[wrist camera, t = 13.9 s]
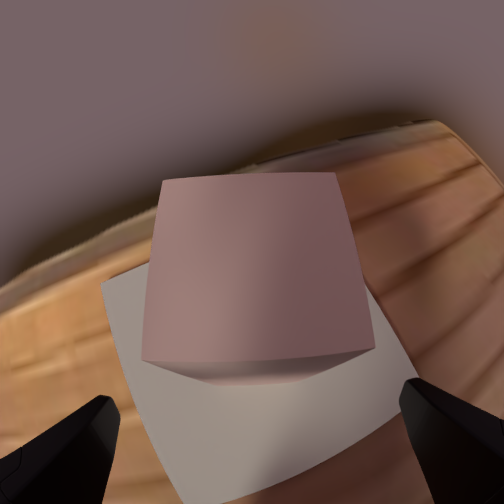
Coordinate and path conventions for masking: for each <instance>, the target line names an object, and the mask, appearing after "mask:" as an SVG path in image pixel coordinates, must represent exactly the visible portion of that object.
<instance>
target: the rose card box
mask: <svg viewBox="0 0 504 504" xmlns="http://www.w3.org/2000/svg"><path fill="white" fill-rule="evenodd" d="M374 348H376V345H375V338H374V332H373V326H372V320H371V314H370V309H369V304H368V298H367V293H366V289H365V284H364V279H363V274H362V270H361V265H360V261H359V257H358V253H357V249H356V245H355V241H354V237H353V233H352V229H351V225H350V222H349V218H348V214H347V211H346V207H345V204H344V200H343V197H342V194H341V190H340V187H339V184H338V181H337V177H336V174H335V172H287V173H254V174H233V175H218V176H204V177H191V178H181V179H170V180H163V183H162V188H161V193H160V198H159V203H158V209H157V215H156V220H155V227H154V233H153V239H152V246H151V253H150V261H149V269H148V277H147V286H146V296H145V307H144V319H143V333H142V352H141V360H142V361H145V362H147V363H150V364H152V365H155V366H158V367H160V368H163V369H166V370H169V371H172V372H175V373H177V374H180V375H183V376H186V377H190V378H193V379H196V380H199V381H202V382H206V383H209V384H212V385H216V386H242V385H264V384H279V383H291V382H298V381H301V380H304V379H306V378H309V377H311V376H314V375H316V374H319V373H321V372H324V371H326V370H328V369H331V368H333V367H335V366H338V365H340V364H342V363H345V362H347V361H349V360H351V359H353V358H355V357H358V356H360V355H362V354H364V353H366V352H368V351H370V350H372V349H374Z"/></svg>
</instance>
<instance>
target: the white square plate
mask: <svg viewBox="0 0 504 504" xmlns="http://www.w3.org/2000/svg"><path fill="white" fill-rule="evenodd" d="M148 269H149V262H148V263H146V264H144V265H141V266H139V267H137V268H134V269H132V270H130V271H127V272H125V273H123V274H121V275H118V276H116V277H114V278H112V279H109V280H107V281H105V282H103V283H100V285H101V290H102V294H103V299H104V304H105V308H106V312H107V316H108V320H109V324H110V328H111V332H112V336H113V339H114V343H115V346H116V350H117V353H118V356H119V359H120V363H121V366H122V369H123V372H124V375H125V378H126V381H127V384H128V386H129V389H130V392H131V395H132V397H133V400H134V403H135V405H136V408H137V410H138V413H139V415H140V418H141V420H142V423H143V425H144V427H145V430H146V432H147V434H148V436H149V439H150V441H151V443H152V445H153V447H154V449H155V452H156V454H157V456H158V458H159V460H160V462H161V464H162V466H163V468H164V470H165V471H166V473H167V475H168V477H169V479H170V481H171V483H172V484H173V486H174V488H175V490H176V491H177V493H178V495H179V497H180V498H181V500H182V502H183V503H184V504H221V503H225V502H228V501H231V500H234V499H237V498H240V497H243V496H246V495H249V494H252V493H255V492H257V491H260V490H263V489H265V488H268V487H270V486H273V485H275V484H277V483H280V482H282V481H284V480H287V479H289V478H291V477H293V476H296V475H298V474H300V473H302V472H304V471H306V470H308V469H310V468H312V467H314V466H316V465H318V464H320V463H322V462H324V461H325V460H327V459H329V458H331V457H333V456H334V455H336V454H338V453H340V452H341V451H343V450H345V449H347V448H348V447H350V446H351V445H353V444H355V443H356V442H358V441H360V440H361V439H363V438H364V437H366V436H367V435H369V434H370V433H372V432H373V431H375V430H376V429H378V428H379V427H380V426H382V425H383V424H385V423H386V422H388V421H389V420H390V419H392V418H393V417H394V416H396V415H397V414H398V413H400V412H401V409H400V406H399V396H400V394H401V391H402V388H403V385H404V382H405V381H406V380H407V379H411V378H415V377H418V378H419V376H418V374H417V372H416V370H415V368H414V367H413V365H412V363H411V361H410V359H409V357H408V356H407V354H406V352H405V350H404V348H403V347H402V345H401V343H400V341H399V340H398V338H397V336H396V334H395V333H394V331H393V329H392V327H391V326H390V324H389V322H388V321H387V319H386V317H385V316H384V314H383V312H382V311H381V309H380V307H379V306H378V304H377V303H376V301H375V299H374V298H373V296H372V294H371V293H370V291H369V290H368V288H367V287H366V285H365V289H366V293H367V298H368V304H369V309H370V314H371V320H372V326H373V332H374V338H375V345H376V348H374V349H372V350H370V351H368V352H366V353H364V354H362V355H360V356H358V357H355V358H353V359H351V360H349V361H347V362H345V363H342V364H340V365H338V366H335V367H333V368H331V369H328V370H326V371H324V372H321V373H319V374H316V375H314V376H311V377H309V378H306V379H304V380H301V381H298V382H291V383H279V384H264V385H242V386H216V385H212V384H209V383H206V382H202V381H199V380H196V379H193V378H190V377H186V376H183V375H180V374H177V373H175V372H172V371H169V370H166V369H163V368H160V367H158V366H155V365H152V364H150V363H147V362H145V361H142V360H141V352H142V333H143V319H144V307H145V296H146V286H147V277H148ZM364 284H365V283H364Z"/></svg>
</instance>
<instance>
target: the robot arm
mask: <svg viewBox="0 0 504 504" xmlns="http://www.w3.org/2000/svg"><path fill="white" fill-rule="evenodd" d="M399 406H400V409H401V412H402V416H403V419H404V422H405V425H406V429H407V432H408V436H409V439H410V442H411V444H412V447H413V449H414V452H415V454H416V456H417V459H418V461H419V464H420V466H421V469H422V471H423V474H424V476H425V479H426V482H427V484H428V487H429V489H430V492H431V495H432V498H433V500H434V503H435V504H504V420H502V419H499V418H498V417H496V416H494V415H492V414H490V413H488V412H486V411H484V410H481V409H479V408H477V407H475V406H473V405H471V404H469V403H467V402H465V401H463V400H461V399H459V398H457V397H455V396H453V395H451V394H449V393H447V392H445V391H443V390H442V389H440V388H438V387H436V386H434V385H432V384H430V383H428V382H426V381H424V380H422V379H420V378H418V377H415V378H411V379H407V380H406V381H405V382H404V385H403V388H402V391H401V394H400V396H399ZM119 425H120V413H119V411H118V409H117V407H116V405H115V403H114V401H113V399H112V398H111V397H110V396H104V395H98V396H97V397H95V398H94V399H92V400H91V401H89V402H88V403H87V404H85V405H84V406H82V407H81V408H79V409H78V410H76V411H75V412H73V413H72V414H70V415H69V416H67V417H66V418H64V419H63V420H61V421H60V422H58V423H57V424H55V425H54V426H52V427H51V428H49V429H48V430H46V431H45V432H43V433H42V434H40V435H39V436H37V437H36V438H34V439H33V440H31V441H29V442H28V443H26V444H25V445H23V447H20V448H18V449H17V450H15V451H14V452H12V453H10V454H9V455H7V456H5V457H3V458H1V459H0V504H102V501H103V497H104V493H105V489H106V485H107V482H108V478H109V474H110V471H111V467H112V463H113V459H114V454H115V449H116V442H117V437H118V431H119Z"/></svg>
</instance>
